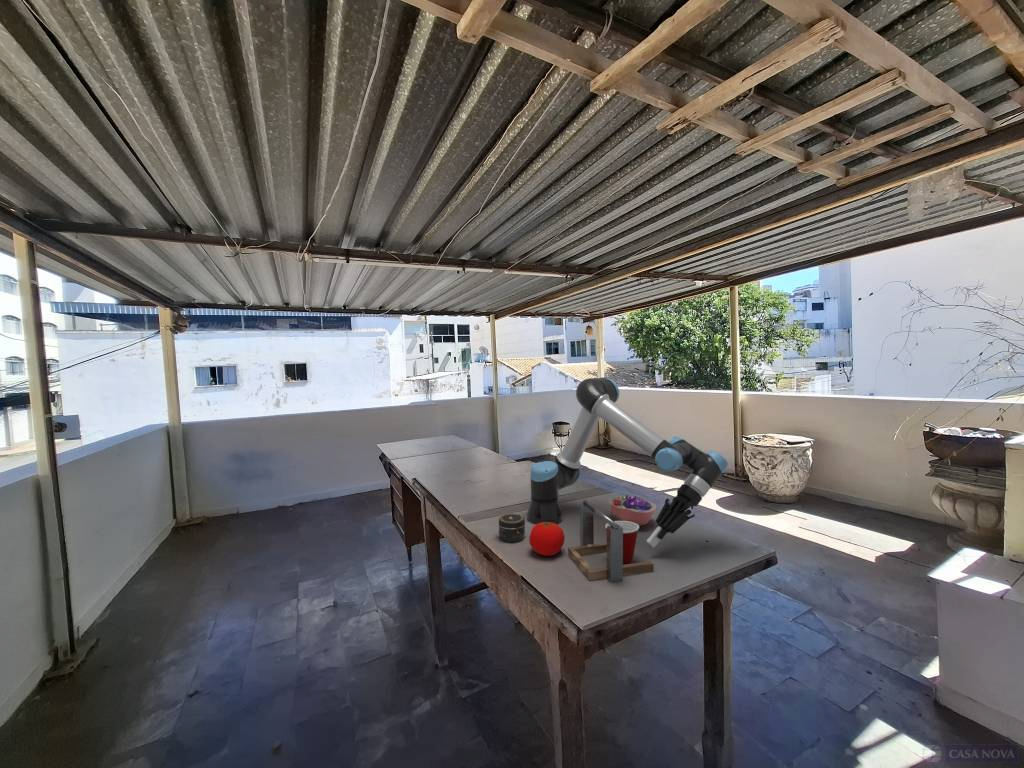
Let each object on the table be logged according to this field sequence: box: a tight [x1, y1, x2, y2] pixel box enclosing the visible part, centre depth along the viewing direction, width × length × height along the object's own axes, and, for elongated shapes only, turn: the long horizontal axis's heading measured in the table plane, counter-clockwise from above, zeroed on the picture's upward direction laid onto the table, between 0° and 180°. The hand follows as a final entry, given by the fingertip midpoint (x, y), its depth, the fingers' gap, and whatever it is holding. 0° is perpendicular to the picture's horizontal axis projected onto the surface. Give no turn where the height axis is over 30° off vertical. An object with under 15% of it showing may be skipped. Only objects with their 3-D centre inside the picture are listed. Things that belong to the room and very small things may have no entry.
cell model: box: [608, 494, 657, 527], centre depth 160 cm, size 17×20×11 cm
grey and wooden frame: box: [567, 500, 655, 584], centre depth 127 cm, size 22×22×17 cm
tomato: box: [528, 522, 566, 557], centre depth 134 cm, size 11×12×10 cm
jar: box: [498, 513, 526, 544], centre depth 147 cm, size 10×10×8 cm
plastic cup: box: [604, 520, 640, 565], centre depth 128 cm, size 11×11×12 cm
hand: (650, 544), depth 130 cm, fingers closed
